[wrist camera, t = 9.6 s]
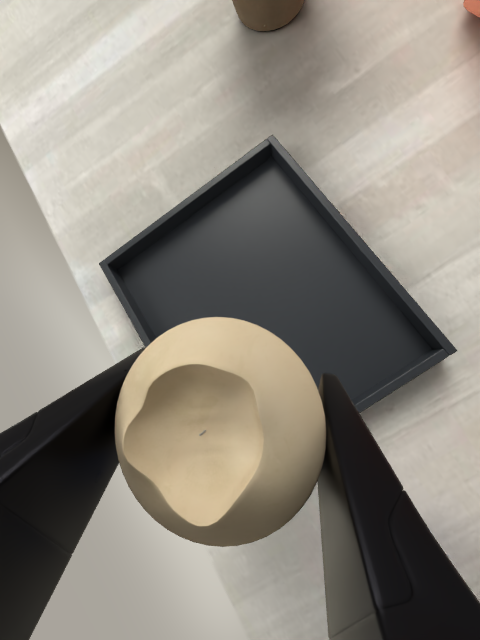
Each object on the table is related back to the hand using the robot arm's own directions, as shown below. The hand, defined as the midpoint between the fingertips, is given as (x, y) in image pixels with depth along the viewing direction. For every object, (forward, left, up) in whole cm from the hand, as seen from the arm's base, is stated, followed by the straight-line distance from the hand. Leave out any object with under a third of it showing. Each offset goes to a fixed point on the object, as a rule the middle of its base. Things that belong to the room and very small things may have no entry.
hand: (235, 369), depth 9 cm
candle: (-1, -1, -7) cm, 7 cm away
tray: (+2, +4, -13) cm, 14 cm away
